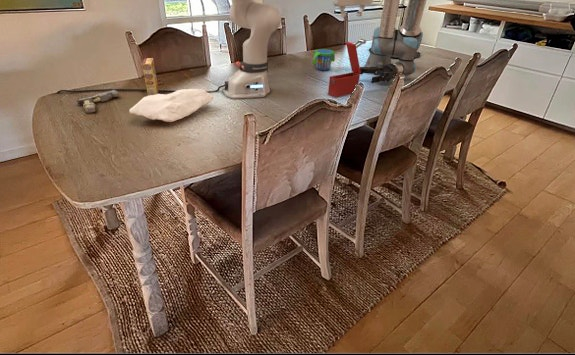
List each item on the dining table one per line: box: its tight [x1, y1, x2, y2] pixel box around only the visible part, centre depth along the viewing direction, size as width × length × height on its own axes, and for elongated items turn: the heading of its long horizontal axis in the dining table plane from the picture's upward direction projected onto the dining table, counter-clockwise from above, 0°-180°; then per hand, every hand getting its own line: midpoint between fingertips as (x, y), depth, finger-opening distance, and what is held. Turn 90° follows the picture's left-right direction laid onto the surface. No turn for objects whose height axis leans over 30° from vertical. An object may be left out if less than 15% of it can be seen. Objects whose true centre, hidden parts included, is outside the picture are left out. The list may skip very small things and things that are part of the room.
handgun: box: [76, 90, 120, 114], centre depth 155 cm, size 3×18×15 cm
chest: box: [327, 71, 361, 98], centre depth 176 cm, size 15×5×9 cm, turn 125°
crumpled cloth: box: [129, 88, 214, 123], centre depth 147 cm, size 24×35×9 cm
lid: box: [345, 38, 367, 75], centre depth 172 cm, size 16×5×8 cm
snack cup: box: [312, 48, 336, 71], centre depth 209 cm, size 16×10×10 cm
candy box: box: [141, 57, 160, 96], centre depth 163 cm, size 9×4×15 cm, turn 13°
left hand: (351, 16), depth 159 cm, fingers open, 8 cm apart
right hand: (362, 76), depth 181 cm, fingers open, 13 cm apart
